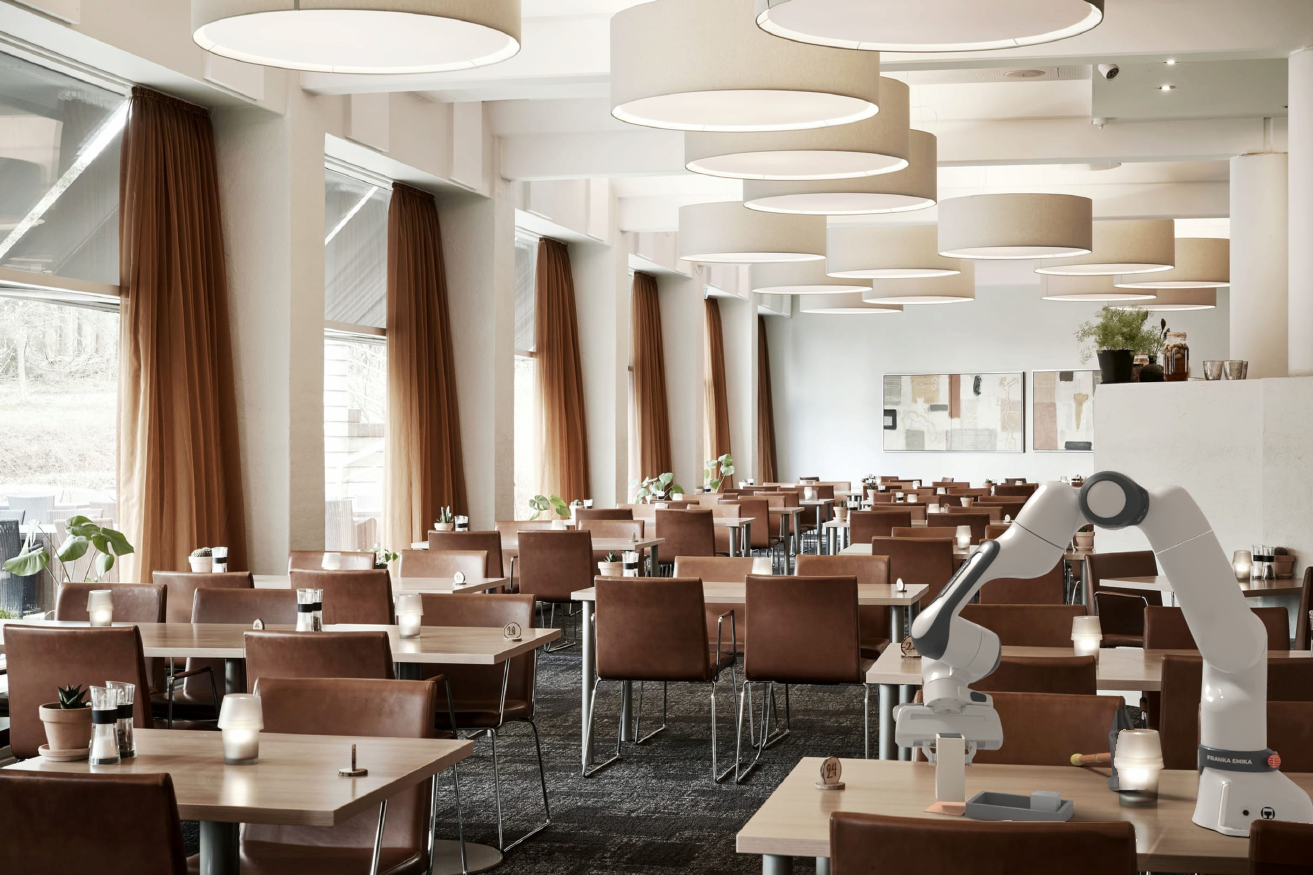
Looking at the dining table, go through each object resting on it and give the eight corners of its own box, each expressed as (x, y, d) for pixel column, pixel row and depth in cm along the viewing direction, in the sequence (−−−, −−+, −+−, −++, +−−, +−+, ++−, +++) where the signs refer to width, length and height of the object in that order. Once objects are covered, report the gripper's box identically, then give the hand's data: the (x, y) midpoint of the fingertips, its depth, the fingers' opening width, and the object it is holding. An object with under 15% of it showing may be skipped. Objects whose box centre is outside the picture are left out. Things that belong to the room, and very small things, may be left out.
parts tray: (1073, 816, 259) (1073, 800, 259) (1060, 830, 249) (1060, 813, 249) (981, 806, 267) (981, 790, 267) (965, 819, 256) (965, 803, 256)
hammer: (1085, 718, 311) (1140, 708, 282) (1091, 791, 307) (1148, 790, 278) (1059, 718, 311) (1112, 709, 282) (1065, 791, 307) (1119, 790, 278)
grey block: (1060, 817, 257) (1060, 792, 257) (1055, 822, 253) (1055, 797, 253) (1035, 814, 259) (1035, 790, 259) (1030, 819, 255) (1030, 794, 255)
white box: (962, 796, 266) (962, 733, 266) (964, 802, 261) (964, 737, 261) (935, 795, 267) (935, 732, 267) (937, 801, 262) (937, 736, 262)
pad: (976, 806, 267) (976, 803, 267) (960, 818, 257) (960, 815, 257) (940, 802, 270) (940, 799, 270) (923, 814, 260) (923, 810, 260)
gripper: (892, 693, 273) (895, 753, 263) (1000, 696, 270) (1006, 756, 260) (891, 712, 277) (894, 772, 267) (997, 715, 274) (1003, 775, 264)
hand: (950, 764), depth 263 cm, fingers closed on white box, 5 cm apart
